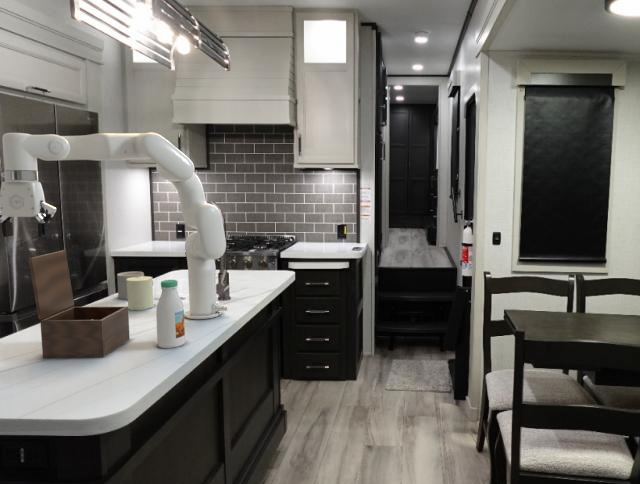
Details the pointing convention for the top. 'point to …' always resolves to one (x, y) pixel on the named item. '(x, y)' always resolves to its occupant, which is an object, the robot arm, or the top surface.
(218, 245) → the robot arm
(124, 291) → the coffee mug
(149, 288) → the can
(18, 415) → the top surface
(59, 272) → the bin lid
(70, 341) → the bin
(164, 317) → the milk bottle
